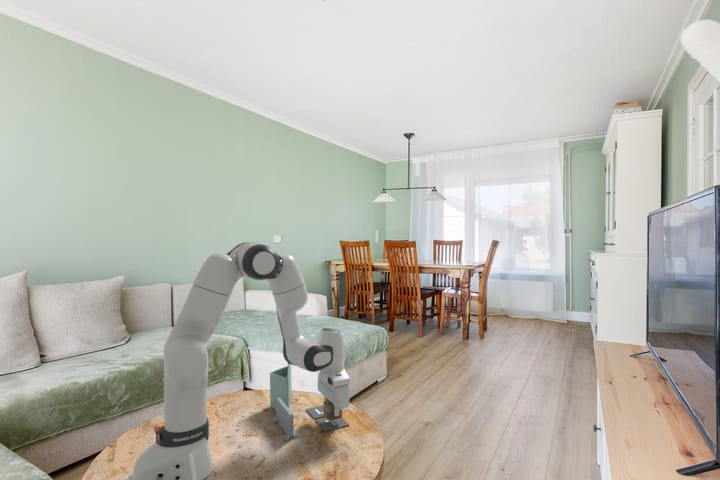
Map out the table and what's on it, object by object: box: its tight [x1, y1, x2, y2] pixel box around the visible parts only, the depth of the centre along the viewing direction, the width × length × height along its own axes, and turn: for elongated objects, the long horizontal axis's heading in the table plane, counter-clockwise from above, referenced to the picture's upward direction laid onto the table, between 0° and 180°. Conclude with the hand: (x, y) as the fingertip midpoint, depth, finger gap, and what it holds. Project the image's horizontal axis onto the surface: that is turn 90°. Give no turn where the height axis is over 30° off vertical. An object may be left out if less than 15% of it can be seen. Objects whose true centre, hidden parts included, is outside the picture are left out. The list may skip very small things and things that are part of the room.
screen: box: [272, 397, 299, 441], centre depth 131 cm, size 4×16×8 cm, turn 28°
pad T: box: [315, 417, 350, 433], centre depth 134 cm, size 9×9×1 cm
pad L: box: [305, 404, 326, 421], centre depth 143 cm, size 9×9×1 cm
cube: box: [322, 400, 343, 421], centre depth 134 cm, size 5×5×5 cm
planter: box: [269, 362, 292, 410], centre depth 150 cm, size 16×8×20 cm, turn 7°
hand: (332, 411), depth 134 cm, fingers closed on cube, 5 cm apart
